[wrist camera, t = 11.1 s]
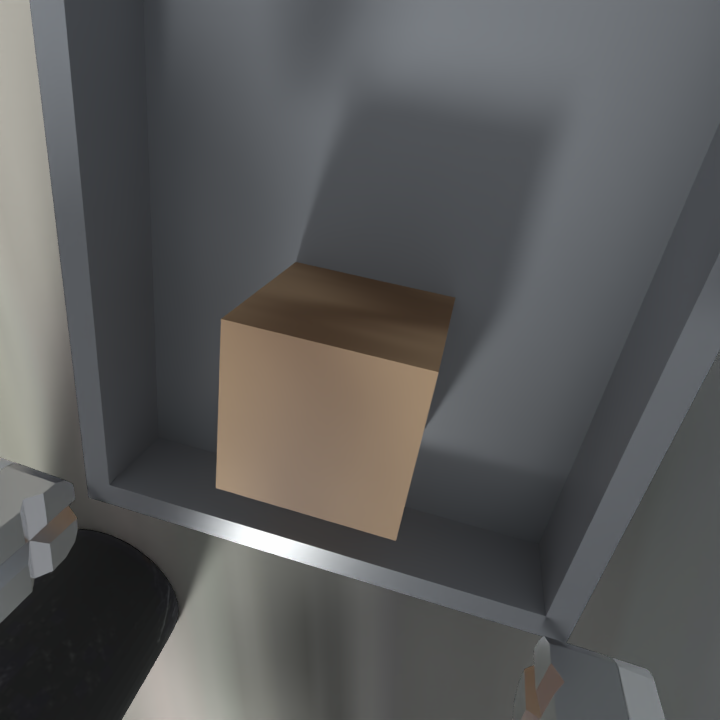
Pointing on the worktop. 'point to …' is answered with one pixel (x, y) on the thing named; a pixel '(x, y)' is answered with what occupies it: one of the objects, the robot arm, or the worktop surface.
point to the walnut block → (328, 394)
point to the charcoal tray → (398, 256)
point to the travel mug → (85, 634)
